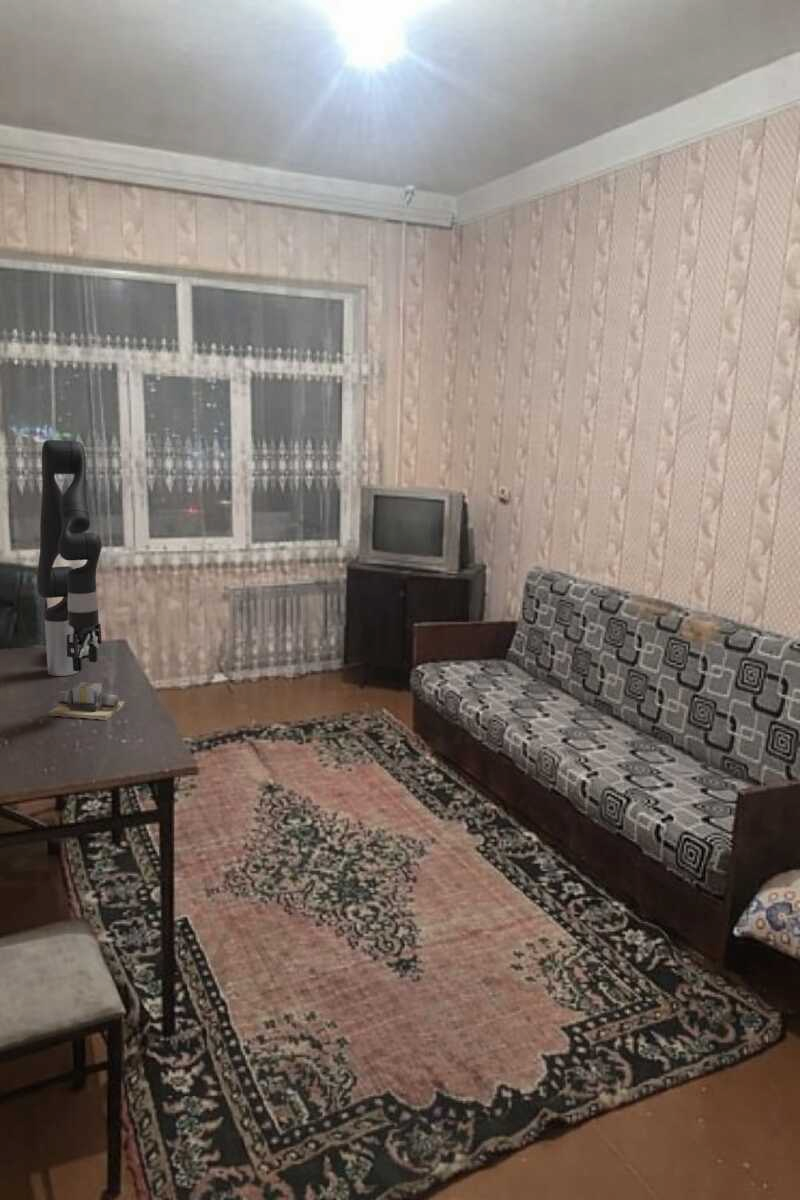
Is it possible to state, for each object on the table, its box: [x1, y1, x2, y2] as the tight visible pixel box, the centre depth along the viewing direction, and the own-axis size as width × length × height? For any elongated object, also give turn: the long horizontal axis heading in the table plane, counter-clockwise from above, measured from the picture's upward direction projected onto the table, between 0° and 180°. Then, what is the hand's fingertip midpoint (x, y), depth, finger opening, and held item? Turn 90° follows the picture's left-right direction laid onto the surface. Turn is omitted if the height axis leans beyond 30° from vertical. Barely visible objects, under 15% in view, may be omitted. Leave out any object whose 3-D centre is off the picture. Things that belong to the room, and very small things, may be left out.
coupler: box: [71, 681, 103, 709], centre depth 227 cm, size 6×5×6 cm
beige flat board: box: [48, 689, 127, 721], centre depth 227 cm, size 12×16×6 cm
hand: (85, 666), depth 225 cm, fingers open, 8 cm apart
